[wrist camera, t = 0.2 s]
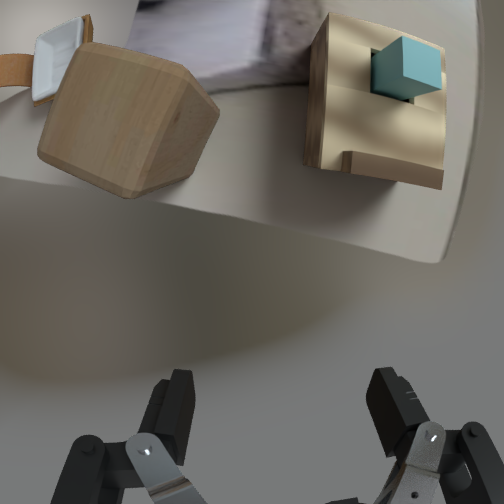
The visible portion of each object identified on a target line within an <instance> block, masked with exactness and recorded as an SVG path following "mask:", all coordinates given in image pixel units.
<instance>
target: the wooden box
mask: <svg viewBox="0 0 504 504" xmlns="http://www.w3.org/2000/svg"><path fill="white" fill-rule="evenodd" d="M326 19H327V17H326V18H325V20H324V22H323V24H322V25H321V27H320V29H319V31H318V33H317V34H316V36H315V38H314V40H313V42H312V43H311V56H310V75H309V92H308V107H307V121H306V134H305V146H304V158H303V165H306V166H311V167H315V168H318V164H319V153H320V141H321V129H322V115H323V100H324V82H325V59H326ZM374 55H376V54H375V53H371V58H372V57H373V56H374ZM402 101H403V102H406V103H409V99H405V100H402Z"/></svg>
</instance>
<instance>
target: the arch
mask: <svg viewBox="0 0 504 504" xmlns="http://www.w3.org/2000/svg"><path fill="white" fill-rule="evenodd" d="M33 62H34V55H29V54H4V55H0V87H6V86H27V87H32V75H33Z"/></svg>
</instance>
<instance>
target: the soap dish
mask: <svg viewBox="0 0 504 504" xmlns="http://www.w3.org/2000/svg"><path fill="white" fill-rule="evenodd" d="M92 40H93V25H92V21H91V17H90V14H89V15H85V16H82V17H77V18H74V19H71V20H69V21H67V22H65V23H63V24H61V25H59V26H57V27H55V28H53V29H51V30H48V31H47V32H45V33H43V34H41V35H40V36H39V37H38V38H37V40H36V45H35V52H34V62H33V75H32V99H33V101H34V107H36V106H38V105H40V104H43V103H45V102H47V101H50V100H52V99H54V98H55V95H56V92H57V90H58V88H59V85H60V83H61V80H62V78H63V76H64V74H65V71H66V69H67V67H68V65H69V63H70V61H71V59H72V57H73V54H74V52H75V50H76V49H77V48H78V47H79V46H80V45H81V44H83V43H89V42H92Z"/></svg>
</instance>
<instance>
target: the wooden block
mask: <svg viewBox="0 0 504 504" xmlns="http://www.w3.org/2000/svg"><path fill="white" fill-rule="evenodd" d="M219 115H220V110H219V108H218V107H217V106H216V105H215V103H214V102H213V101H212V99H211V98H210V97H209V95H208V94H207V93H206V92H205V90H204V89H203V88H202V86H201V85H200V84H199V83H198V81H197V80H196V79H195V78H194V76H193V75H192V74H191V72H190V71H189V70H187V69H186V68H185V67H184V66H183V65H181V64H178V63H175V62H172V61H168V60H165V59H162V58H158V57H155V56H151V55H148V54H144V53H140V52H136V51H132V50H128V49H124V48H119V47H115V46H110V45H105V44H100V43H95V42H89V43H83V44H81V45H80V46H79V47H78V48H77V49H76V50H75V52H74V54H73V57H72V59H71V61H70V63H69V65H68V67H67V69H66V71H65V74H64V76H63V78H62V80H61V83H60V85H59V88H58V90H57V92H56V95H55V98H54V100H53V103H52V105H51V108H50V111H49V114H48V116H47V119H46V122H45V125H44V128H43V131H42V135H41V138H40V141H39V145H38V148H37V155H38V157H39V158H40V159H41V160H42V161H44V162H45V163H47V164H50V165H52V166H54V167H56V168H58V169H60V170H63V171H65V172H67V173H69V174H71V175H73V176H76V177H78V178H80V179H82V180H84V181H86V182H89V183H91V184H93V185H95V186H97V187H99V188H102V189H104V190H106V191H108V192H110V193H113V194H115V195H117V196H119V197H121V198H124V199H135V198H137V197H140V196H142V195H145V194H147V193H150V192H152V191H155V190H157V189H160V188H162V187H165V186H167V185H170V184H173V183H175V182H178V181H181V180H183V179H186V178H188V177H189V176H191V175H192V174H193V171H194V169H195V167H196V165H197V162H198V160H199V158H200V156H201V154H202V151H203V149H204V147H205V145H206V143H207V141H208V139H209V136H210V134H211V132H212V130H213V128H214V126H215V124H216V122H217V120H218V118H219Z"/></svg>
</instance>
